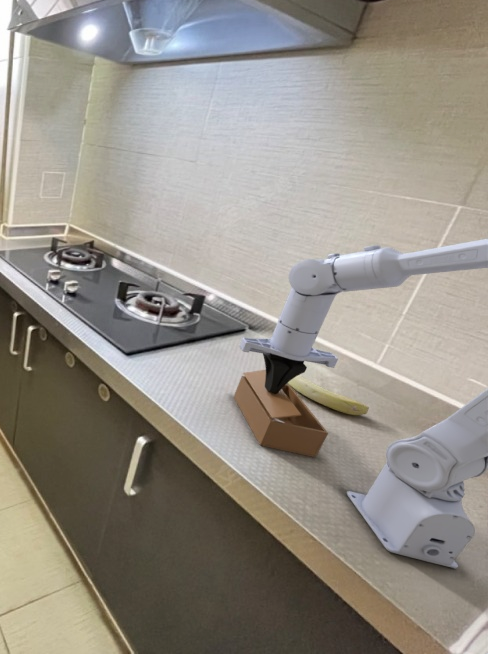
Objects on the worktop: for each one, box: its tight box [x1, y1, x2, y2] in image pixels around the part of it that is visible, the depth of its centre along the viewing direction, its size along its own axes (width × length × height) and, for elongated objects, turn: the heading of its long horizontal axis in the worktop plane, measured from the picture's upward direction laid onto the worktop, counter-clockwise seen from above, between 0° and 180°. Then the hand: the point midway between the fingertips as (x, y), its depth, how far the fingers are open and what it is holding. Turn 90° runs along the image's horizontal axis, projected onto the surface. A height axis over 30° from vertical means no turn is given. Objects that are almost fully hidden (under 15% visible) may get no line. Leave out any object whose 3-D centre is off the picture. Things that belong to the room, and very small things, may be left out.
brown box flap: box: [242, 369, 301, 419], centre depth 72 cm, size 14×4×1 cm, turn 166°
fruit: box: [287, 374, 370, 416], centre depth 84 cm, size 7×15×3 cm, turn 22°
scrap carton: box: [233, 375, 329, 458], centre depth 73 cm, size 14×9×5 cm, turn 167°
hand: (270, 390), depth 72 cm, fingers closed
